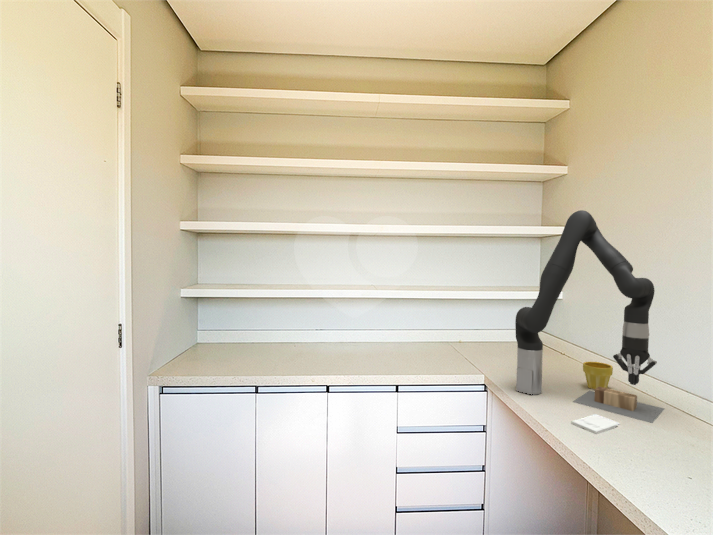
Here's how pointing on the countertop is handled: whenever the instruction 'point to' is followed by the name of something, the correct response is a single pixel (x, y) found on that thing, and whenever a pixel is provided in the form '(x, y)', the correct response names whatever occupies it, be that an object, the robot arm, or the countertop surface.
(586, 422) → the external hard drive
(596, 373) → the plant pot
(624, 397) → the block
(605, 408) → the mat
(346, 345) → the countertop surface
